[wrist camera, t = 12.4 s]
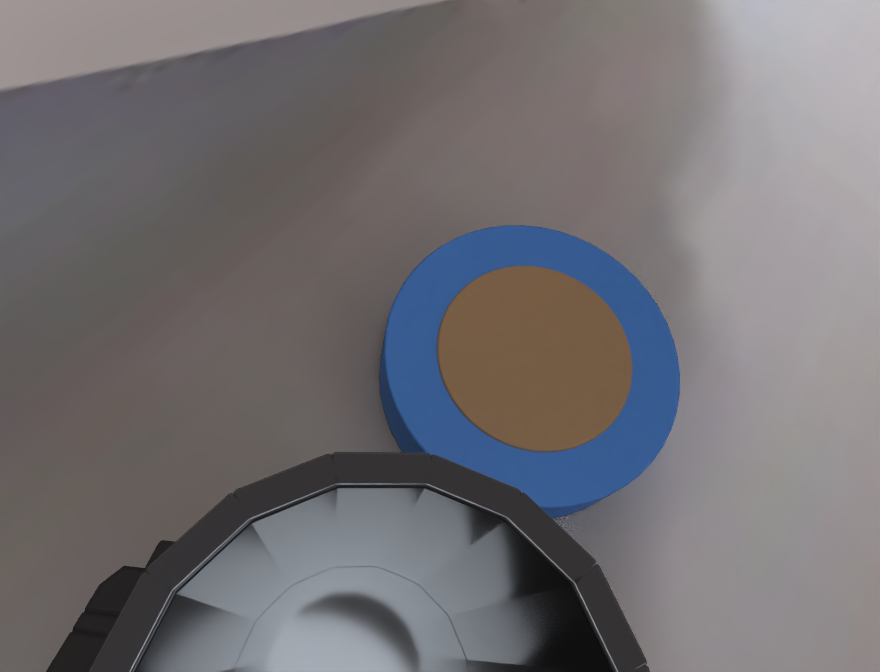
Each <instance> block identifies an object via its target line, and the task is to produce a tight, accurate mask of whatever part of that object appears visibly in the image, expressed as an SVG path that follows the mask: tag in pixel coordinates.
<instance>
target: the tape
mask: <svg viewBox="0 0 880 672" xmlns="http://www.w3.org/2000/svg"><path fill="white" fill-rule="evenodd" d="M379 379H380V393H381V399H382V404H383V408H384V413H385V415H386V418H387V421H388V424H389V427H390V430H391V432H392V434H393V435H394V437H395V439H396V441H397V443H398V445H399V447H400V448H401V450H402V451H403V453H429V454H430V455H432V454H434V455H438V456H440V457H442V458H445V459H447V460H450V461H452V462H455V463H457V464H459V465H462V466H464V467H467V468H469V469H471V470H474V471H476V472H479V473H481V474H484V475H486V476H488V477H491V478H493V479H496V480H498V481H501V482H503V483H505V484H508V485H510V486H513V487H515V488H518V489H519V490H520V491H521V493H522V492H524V493H526V494H527V495H528V496H529V497H530V498H531V499H532V500H533V501H534V502H535V503H536V504H537V505H538V506H539V507H540V508H541V509H542V510H544V511H545V512H546V513H547V514H548V515H549V516H550V517H551V518H556V517H561V516H565V515H569V514H571V513H574V512H576V511H579V510H582V509H584V508H586V507H588V506H590V505H592V504H594V503H595V502H597V501H599V500H601V499H603V498H605V497H607V496H609V495H610V494H612V493H614V492H616V491H617V490H619V489H621V488H623V487H625V486H626V485H627V484H629V483H630V482H631V481H632V480H634V479H635V478H636V477H638V476H639V475H640V474H641V473H642V472H643V471H644V470H645V469H646V468H647V467H648V466H649V465H650V463H651V462H652V461H653V460H654V459H655V457H656V456H657V454H658V453H659V451H660V450H661V448H662V447H663V445H664V443H665V441H666V439H667V437H668V435H669V433H670V431H671V428H672V425H673V422H674V419H675V415H676V412H677V406H678V400H679V392H680V373H679V364H678V357H677V353H676V349H675V345H674V341H673V338H672V335H671V333H670V330H669V327H668V325H667V322H666V320H665V319H664V317H663V315H662V313H661V311H660V309H659V307H658V306H657V304H656V303H655V301H654V300H653V298H652V297H651V295H650V294H649V292H648V291H647V290H646V289H645V288H644V286H643V285H642V284H641V283H640V282H639V281H638V279H637V278H636V277H635V276H634V275H633V274H632V273H630V272H629V271H628V270H627V269H626V268H625V267H624V266H623V265H622V264H620V263H619V262H618V261H616V260H615V259H614V258H612V257H611V256H610V255H609V254H607V253H605V252H604V251H602V250H600V249H599V248H597V247H595V246H594V245H592V244H590V243H587V242H585V241H583V240H581V239H579V238H577V237H574V236H571V235H568V234H565V233H562V232H559V231H555V230H551V229H546V228H542V227H532V226H499V227H491V228H486V229H482V230H478V231H474V232H471V233H468V234H466V235H463V236H461V237H458V238H456V239H454V240H452V241H450V242H448V243H447V244H445V245H443V246H441V247H440V248H438V249H437V250H435V251H434V252H433V253H431V254H430V255H429V256H427V257H426V258H425V259H424V260H423V261H422V262H421V263H420V264H419V265H418V266H417V267H416V268H415V269H414V270H413V272H412V273H411V274H410V275H409V277H408V278H407V279H406V281H405V282H404V283H403V285H402V287H401V289H400V291H399V293H398V294H397V296H396V298H395V300H394V303H393V306H392V308H391V311H390V314H389V317H388V322H387V327H386V331H385V336H384V342H383V348H382V354H381V361H380V374H379Z"/></svg>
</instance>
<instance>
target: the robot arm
mask: <svg viewBox="0 0 880 672" xmlns="http://www.w3.org/2000/svg"><path fill="white" fill-rule="evenodd" d="M174 543H175V542H173V541H164V540H162V541H160V542H159V544H158V545H157V547H156V549H155V550H154V552H153V554H152V556H151V558H150V560H149V561H148V563H147V565H146V567H145V568H138V567H130V566H123V567H122V568H121V569H119V570H118V571H117V572H115V573H114V574H113V575H111V576H110V577H109V578H108V579H106V580H105V581H104V582H102V583H101V584H100V585H99V586H98V588H97V590H96V591H95V593H94V595H93V596H92V598H91V599H90V601H89V603H88V604H87V606H86V608H85V611H84V613H82V614H81V616H80V617H79V619H78V621H77V622H76V624H75V625H74V627H73V631H72V632H70V634H69V635H68V637H67V638H66V640H65V642H64V643H63V645H62V647H61V648H60V650H59V652H58V653H57V655H56V656H55V658H54V660H53V661H52V663H51V665H50V666H49V668H48V669H47V671H46V672H89V670H90V668H91V666H92V664H93V663H94V661H95V659H96V657H97V655H98V653H99V652H100V650H101V648H102V646H103V644H104V642H105V641H106V639H107V637H108V635H109V633H110V631H111V629H112V628H113V626H114V624H115V622H116V620H117V618H118V617H119V615H120V613H121V611H122V609H123V607H124V606H125V604H126V602H127V600H128V598H129V596H130V595H131V593H132V591H133V589H134V587H135V585H136V584H137V582H138V580H139V578H140V576H141V575H142V574H143V573H144V572H146V569H147V567H148V566H149V565H150V564H151V563H152V562H154V561H155V560H156V559H157V558H158V557H159V556H160V555H161V554H163V553H164V552H165V551H166V550H167V549H168V548H169V547H170V546H171V545H173V544H174Z"/></svg>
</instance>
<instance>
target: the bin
mask: <svg viewBox="0 0 880 672" xmlns="http://www.w3.org/2000/svg"><path fill="white" fill-rule="evenodd" d="M646 664H647V661H646V658H645V656H644V654H643V652H642V650H641V648H640V646H639V644H638V642H637V640H636V638H635V636H634V634H633V632H632V630H631V628H630V626H629V624H628V622H627V620H626V618H625V616H624V614H623V612H622V610H621V608H620V606H619V604H618V602H617V600H616V598H615V596H614V594H613V592H612V590H611V588H610V586H609V584H608V582H607V580H606V578H605V576H604V574H603V572H602V570H601V568H600V566H599V565H598V564H596V561H595V559H594V558H593V557H592V556H591V555H590V554H589V553H588V552H586V551H585V550H584V549H583V548H582V547H581V546H580V545H579V544H578V543H577V542H576V541H575V540H574V539H573V538H572V537H571V536H570V535H569V534H568V533H567V532H566V531H564V530H563V529H562V528H561V527H560V526H559V525H558V524H557V523H556V522H555V521H554V520H553V519H552V518H551V517H550V516H549V515H548V514H547V513H546V512H545V511H544V510H542V509H541V508H540V507H539V506H538V505H537V504H536V503H535V502H534V501H533V500H532V499H531V498H530V497H529V496H528V495H527V494H526V493H524V492H522V493H521V491H520V490H519V489H518V488H515V487H513V486H510V485H508V484H505V483H503V482H501V481H498V480H496V479H493V478H491V477H488V476H486V475H484V474H481V473H479V472H476V471H474V470H471V469H469V468H467V467H464V466H462V465H459V464H457V463H455V462H452V461H450V460H447V459H445V458H442V457H440V456H438V455H434V454H432V455H430V454H429V453H393V452H335V453H333V454H332V455H331V454H326V455H323V456H320V457H318V458H315V459H313V460H310V461H308V462H305V463H302V464H300V465H297V466H295V467H292V468H290V469H287V470H285V471H282V472H279V473H277V474H274V475H272V476H269V477H267V478H264V479H262V480H259V481H256V482H254V483H251V484H249V485H246V486H244V487H241V488H238V489H236V490H235V491H234V494H233V493H231V494H228V495H227V496H226V497H225V498H224V499H223V500H222V501H220V502H219V503H218V504H217V505H216V506H215V507H214V508H213V509H212V510H210V511H209V512H208V513H207V514H206V515H205V516H204V517H203V518H202V519H200V520H199V521H198V522H197V523H196V524H195V525H194V526H193V527H191V528H190V529H189V530H188V531H187V532H186V533H185V534H184V535H183V536H181V537H180V538H179V539H178V540H177V541H176V542H175V543H174V544H173V545H171V546H170V547H169V548H168V549H167V550H166V551H165V552H164V553H163V554H161V555H160V556H159V557H158V558H157V559H156V560H155V561H154V562H152V563H151V564H150V565H149V566H148V567H147V569H146V572H144V573H143V574H142V575H141V576H140V578H139V580H138V582H137V584H136V585H135V587H134V589H133V591H132V593H131V595H130V596H129V598H128V600H127V602H126V604H125V606H124V607H123V609H122V611H121V613H120V615H119V617H118V618H117V620H116V622H115V624H114V626H113V628H112V629H111V631H110V633H109V635H108V637H107V639H106V641H105V642H104V644H103V646H102V648H101V650H100V652H99V653H98V655H97V657H96V659H95V661H94V663H93V664H92V666H91V668H90V670H89V672H650V671H649V668H648V666H646Z"/></svg>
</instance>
